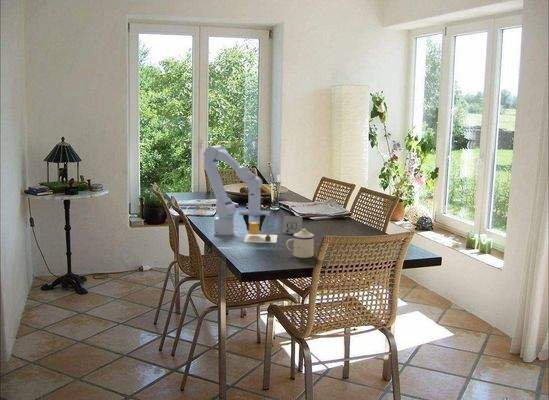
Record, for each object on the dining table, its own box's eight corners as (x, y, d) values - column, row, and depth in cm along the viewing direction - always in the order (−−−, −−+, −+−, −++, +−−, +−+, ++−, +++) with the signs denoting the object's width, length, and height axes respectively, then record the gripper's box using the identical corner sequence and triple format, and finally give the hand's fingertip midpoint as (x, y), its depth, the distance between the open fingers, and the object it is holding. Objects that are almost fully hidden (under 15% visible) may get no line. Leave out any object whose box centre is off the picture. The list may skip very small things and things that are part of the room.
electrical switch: (282, 235, 294) (282, 216, 293) (284, 233, 299) (284, 215, 299) (301, 236, 292) (301, 217, 292) (302, 235, 297) (303, 216, 297)
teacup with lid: (312, 252, 261) (312, 226, 259) (315, 258, 252) (316, 231, 251) (284, 253, 260) (285, 226, 258) (287, 258, 251) (287, 231, 249)
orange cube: (248, 234, 284) (248, 224, 283) (249, 232, 289) (249, 221, 288) (259, 234, 284) (259, 224, 283) (259, 232, 289) (260, 222, 288)
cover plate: (243, 244, 275) (243, 235, 275) (246, 236, 291) (246, 228, 290) (276, 244, 275) (276, 236, 274) (277, 236, 290) (277, 228, 290)
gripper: (238, 203, 280) (238, 231, 283) (269, 204, 280) (268, 232, 282) (239, 201, 287) (239, 228, 290) (270, 201, 287) (269, 229, 289)
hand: (254, 230), depth 286 cm, fingers closed on orange cube, 5 cm apart
